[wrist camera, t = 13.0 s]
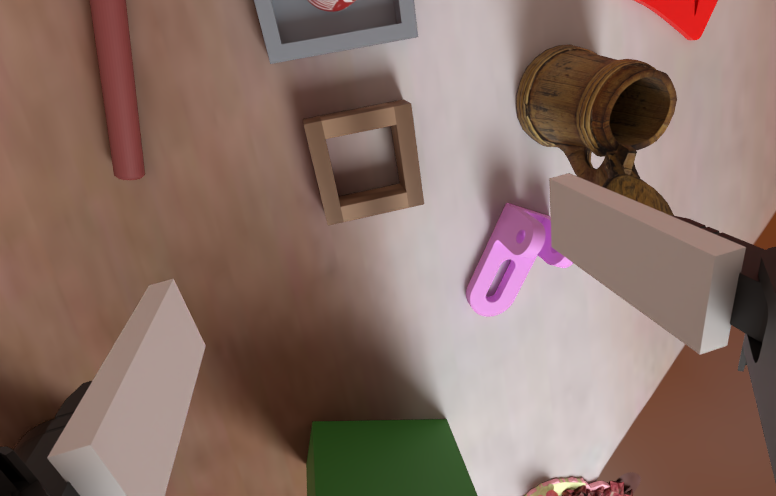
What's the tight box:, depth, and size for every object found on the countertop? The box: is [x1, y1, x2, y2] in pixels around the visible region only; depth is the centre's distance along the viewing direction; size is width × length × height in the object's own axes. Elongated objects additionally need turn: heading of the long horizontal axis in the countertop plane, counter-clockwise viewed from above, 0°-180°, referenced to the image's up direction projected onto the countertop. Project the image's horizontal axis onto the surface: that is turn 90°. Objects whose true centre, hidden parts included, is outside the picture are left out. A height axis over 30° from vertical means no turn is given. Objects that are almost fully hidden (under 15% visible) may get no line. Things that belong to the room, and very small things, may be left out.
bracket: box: [466, 203, 573, 316], centre depth 46 cm, size 13×6×7 cm, turn 160°
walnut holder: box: [303, 100, 424, 225], centre depth 40 cm, size 9×9×3 cm
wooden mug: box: [517, 45, 677, 216], centre depth 35 cm, size 9×14×18 cm, turn 167°
